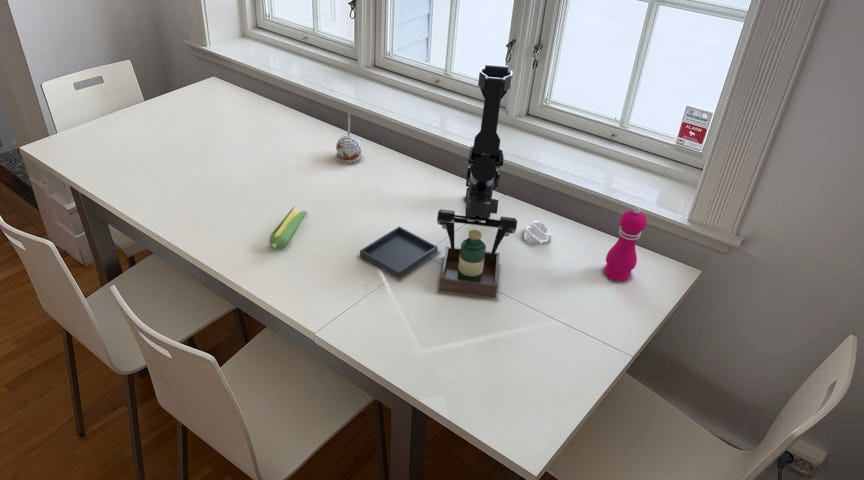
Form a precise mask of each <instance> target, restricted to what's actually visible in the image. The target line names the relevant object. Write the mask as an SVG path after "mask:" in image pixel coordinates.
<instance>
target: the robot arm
mask: <svg viewBox="0 0 864 480" xmlns="http://www.w3.org/2000/svg"><path fill="white" fill-rule="evenodd" d="M512 80H513V70H509V65H504V64H503V65H502V64H500V65H499V64H491V63H485V65H484V67H480V69H479V73H478V81H477V86H478V87H479V89H480V93H481V95H482V96H483V99H484V101H483V109H482V117H481V122H480V123H481V124H480V131H478V133H477V134H476V135H475V136H474V140H473V145H470V149H469V155H468V160H467V161H468V162H467V165H468V166H467V172H466V180H465V181H466V182H465V187H467V188H466V191H465V196H464V197H463V199H464V201H465V202H466V206H465V211H464V213H465V214H464V215H460V214H456V210H450V209H443V208H442V209H439V210H438V212H437V217H436V223H437V225H439V226H441V228H442V229H444V230H446V232H447V235H448V240H449V246H450V247H451V251H452V255H454V247H455V224H461V225H469V226H479V227H487V228H495V229H496V228H497V232H496V233H495V238H494V242H493V245H492V249H491V251H490V252H491V260H492V259H493V257H494V254H495V252H496V253H497V250H498V248H499V245H500V244H501V242H502V241H503V239H504V238H505V237H510V234H512V235H513V234H515V233H516V231H517V226H518V220H517V219H516V217H510V216H500V218H499V219H495V218H494V219H492V218H491V214H497V213H498V208H499V199H496V198H493V193H494V191H496V189H497V188H498V187H499V185H500V184H499V183H500V178H501V174H500V172H499V169H501V167H503V166H504V158H505V154H504V153H503V151H504V150H503V148H500V146H501V138H500V136H499V134H498V124H499V116H500V110H501V109H500V108H501V101H502V99H503V98H504V97H505V95H506V94H507V92H508V91H509V90H511V87H512Z"/></svg>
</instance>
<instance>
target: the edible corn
mask: <svg viewBox="0 0 864 480" xmlns="http://www.w3.org/2000/svg"><path fill="white" fill-rule="evenodd" d="M294 208H295V206H293V207H292V208H291V209H290V210H289V212H288V213H287V214H286V216H284V218H283V219H282V220H281V221H280V223H279V224H278V225H277V226H276V227H275V229H274V230H273V231H272V232H271V233H270V236H269V239H268V241H269V242H268V243H269V246H271V247H272V248H274V249H278V250H281V249H284V248H287V246H288V245H289V243H290V242H291V241H292V238H293V237H294V235H295V233H296V231H297V230H298V228H299V227H300V225H301V223H302V221H303V219H304V218H305V216H306V214H307V213H308V212H307V210H302V211H301V210H299V209H294Z"/></svg>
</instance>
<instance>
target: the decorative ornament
mask: <svg viewBox="0 0 864 480" xmlns="http://www.w3.org/2000/svg"><path fill="white" fill-rule="evenodd" d="M335 144H336V145H335V150H336V156H335V158H337V160H338V161H339V162H342V163H344V164H352V163H353V164H354V163H357V162H359V160H362V157H363V155H362V150H363V143H361V140H360V138H358V136H355V135H354V134H351V114H350V113H347V134H345V135H341V136H340V138H339V139H338V140H337V142H336V143H335Z"/></svg>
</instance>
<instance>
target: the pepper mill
mask: <svg viewBox="0 0 864 480" xmlns="http://www.w3.org/2000/svg"><path fill="white" fill-rule="evenodd" d="M647 223H648V220H647V216H646V215H645V213H643V212H642V209H641V207H640V206H638V205H636V206H634V207H632V209H629V210H626V211H625V212H623V213H622V214H621V215H620V218H619V230H618V235H619V237H618V239H617V241H616V242H615V243H614V244H613V246H612V247H611V248H610V249H609V250H608V251H607V253H606V256H605V262H606V264H605V267H604V270H603V272H604V275H605V276H606V277H607V278H608V279H610V280H611V281H614V282H615V281H616V282H626V281H628V280H629V279H630V276H631V274H632V271H633V270H634V269H635V268H636V266H637V262H638V256H637V252H636V245H637V244H636V243H637V241H638V240H639V239H640V238H641V235H642V232H643V231H644V230H645V228H646V227H647Z"/></svg>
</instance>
